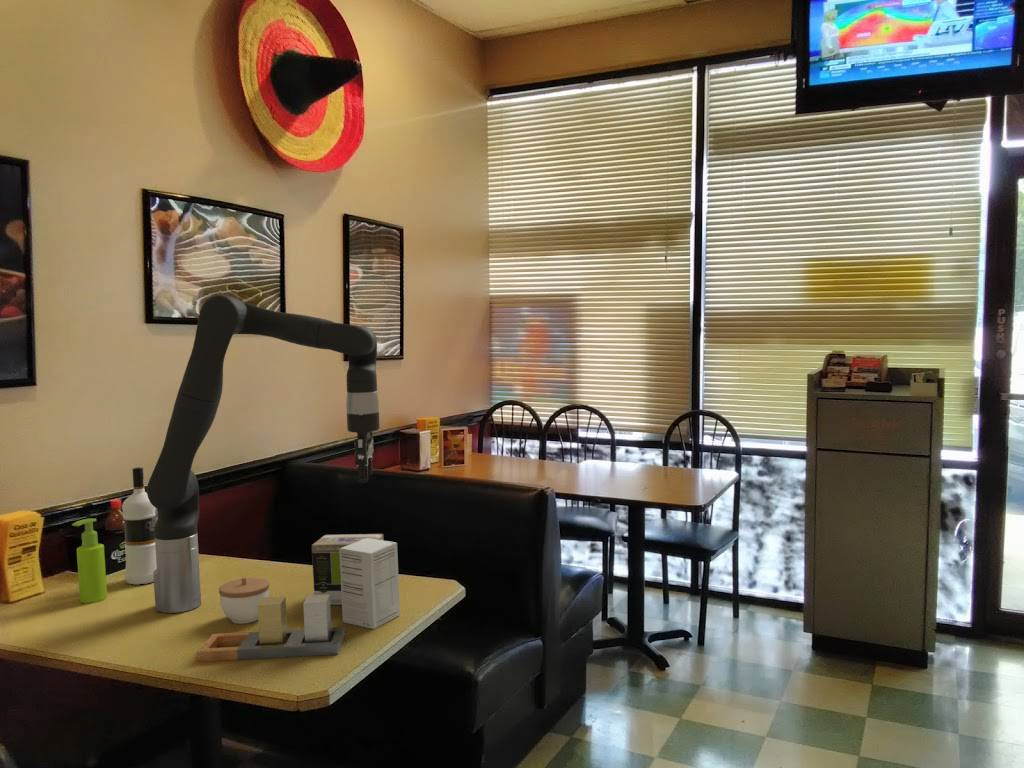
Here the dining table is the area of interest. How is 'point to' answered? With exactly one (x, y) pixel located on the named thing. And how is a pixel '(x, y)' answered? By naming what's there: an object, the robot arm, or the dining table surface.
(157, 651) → the dining table surface
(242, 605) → the lidded jar
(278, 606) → the beige rectangular block
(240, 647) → the grey flat frame
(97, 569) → the soap dispenser
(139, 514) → the vodka
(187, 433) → the robot arm
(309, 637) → the gray square beam
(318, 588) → the tea box
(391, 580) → the supplement box
